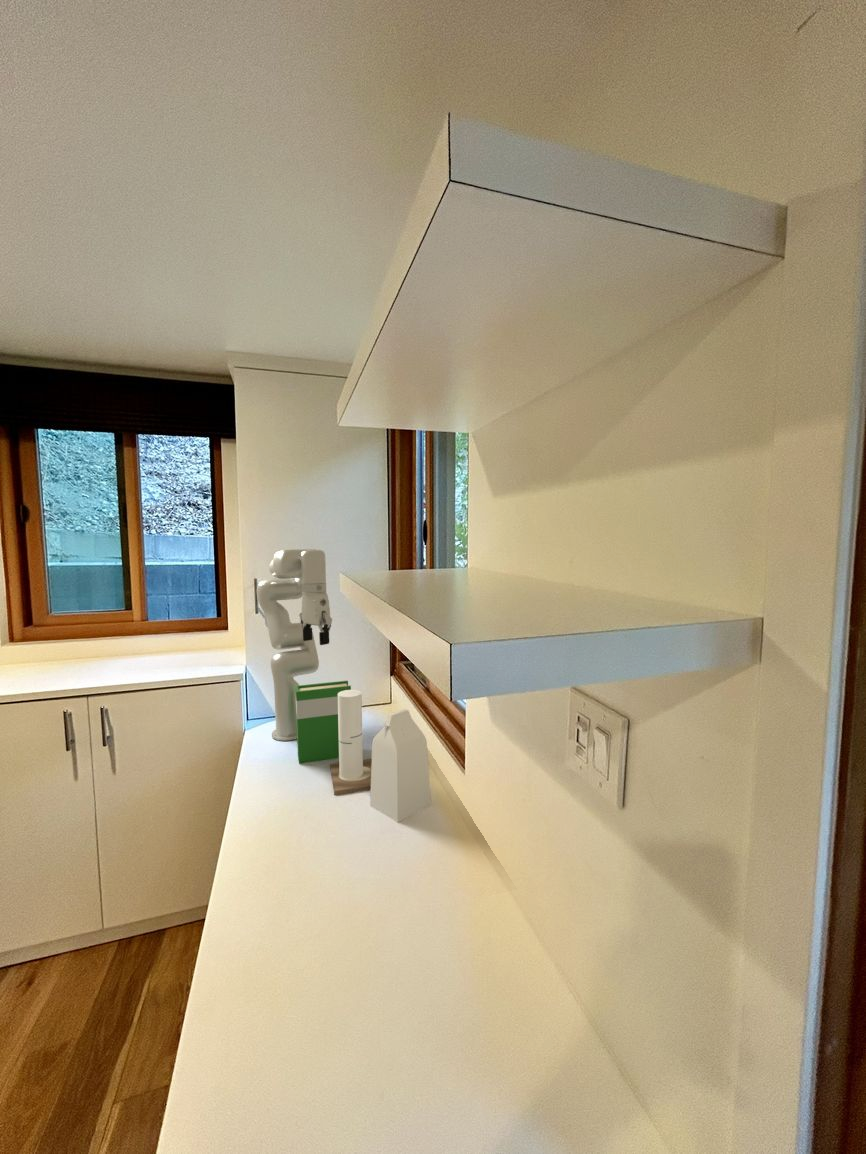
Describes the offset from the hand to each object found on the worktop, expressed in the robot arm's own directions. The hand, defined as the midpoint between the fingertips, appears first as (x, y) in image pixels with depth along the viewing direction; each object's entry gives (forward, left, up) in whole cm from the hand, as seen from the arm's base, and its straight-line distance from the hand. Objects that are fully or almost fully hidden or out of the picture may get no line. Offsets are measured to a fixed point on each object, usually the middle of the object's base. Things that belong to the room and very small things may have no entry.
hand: (316, 642), depth 158 cm
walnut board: (+12, +10, -40) cm, 43 cm away
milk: (+32, +20, -40) cm, 55 cm away
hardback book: (-7, +2, -40) cm, 41 cm away
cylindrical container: (+12, +9, -39) cm, 42 cm away
